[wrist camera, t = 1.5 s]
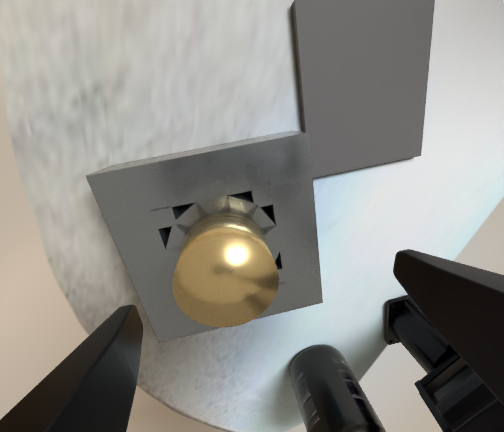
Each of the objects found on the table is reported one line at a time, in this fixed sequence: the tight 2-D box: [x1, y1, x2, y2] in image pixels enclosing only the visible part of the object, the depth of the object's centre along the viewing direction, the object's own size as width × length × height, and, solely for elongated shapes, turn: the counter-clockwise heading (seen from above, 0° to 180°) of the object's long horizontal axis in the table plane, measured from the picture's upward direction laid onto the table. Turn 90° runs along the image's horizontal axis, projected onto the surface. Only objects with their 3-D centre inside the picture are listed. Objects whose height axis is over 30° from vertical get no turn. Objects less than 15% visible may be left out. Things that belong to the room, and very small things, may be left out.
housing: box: [86, 131, 323, 343], centre depth 19 cm, size 14×14×4 cm
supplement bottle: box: [290, 345, 386, 432], centre depth 24 cm, size 7×7×12 cm
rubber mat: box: [292, 0, 435, 178], centre depth 18 cm, size 12×10×1 cm
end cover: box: [172, 212, 279, 327], centre depth 17 cm, size 6×6×8 cm
